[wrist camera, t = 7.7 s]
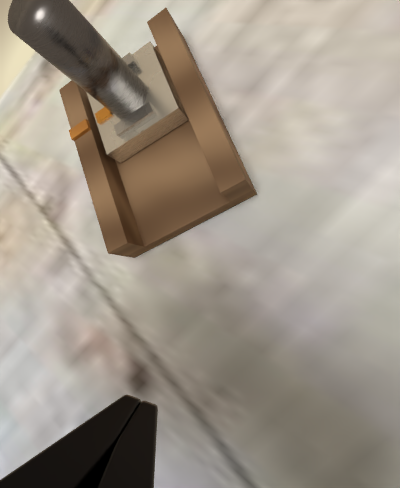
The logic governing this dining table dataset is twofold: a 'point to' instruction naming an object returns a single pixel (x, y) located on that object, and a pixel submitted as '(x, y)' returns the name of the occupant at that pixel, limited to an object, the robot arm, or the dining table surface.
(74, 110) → the walnut guide
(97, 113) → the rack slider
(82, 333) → the dining table surface
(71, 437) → the robot arm
